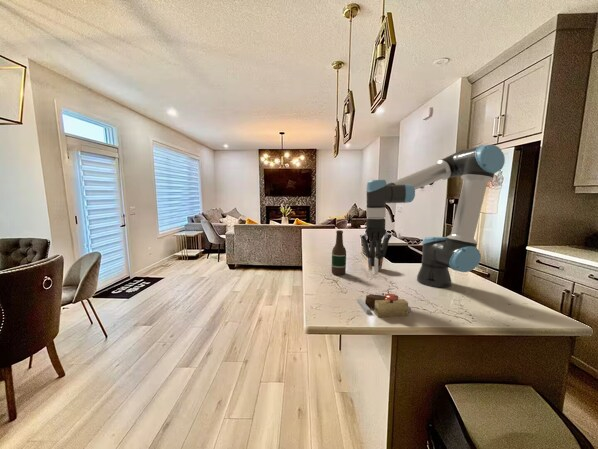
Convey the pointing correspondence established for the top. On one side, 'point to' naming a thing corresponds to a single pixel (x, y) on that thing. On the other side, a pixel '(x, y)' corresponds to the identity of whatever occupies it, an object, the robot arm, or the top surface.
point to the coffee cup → (375, 257)
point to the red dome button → (391, 306)
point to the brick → (373, 300)
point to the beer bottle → (339, 255)
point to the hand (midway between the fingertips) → (375, 273)
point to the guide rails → (369, 308)
